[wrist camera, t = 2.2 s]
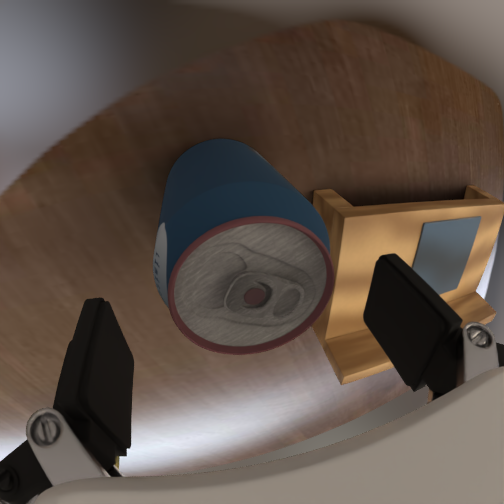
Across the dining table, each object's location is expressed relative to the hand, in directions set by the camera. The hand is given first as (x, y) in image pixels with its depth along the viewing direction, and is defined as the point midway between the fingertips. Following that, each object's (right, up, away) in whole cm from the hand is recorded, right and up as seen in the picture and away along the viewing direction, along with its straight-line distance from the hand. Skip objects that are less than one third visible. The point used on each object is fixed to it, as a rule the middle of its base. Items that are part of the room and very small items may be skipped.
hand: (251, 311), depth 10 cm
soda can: (-2, +7, +10) cm, 12 cm away
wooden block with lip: (+15, +3, +16) cm, 22 cm away
